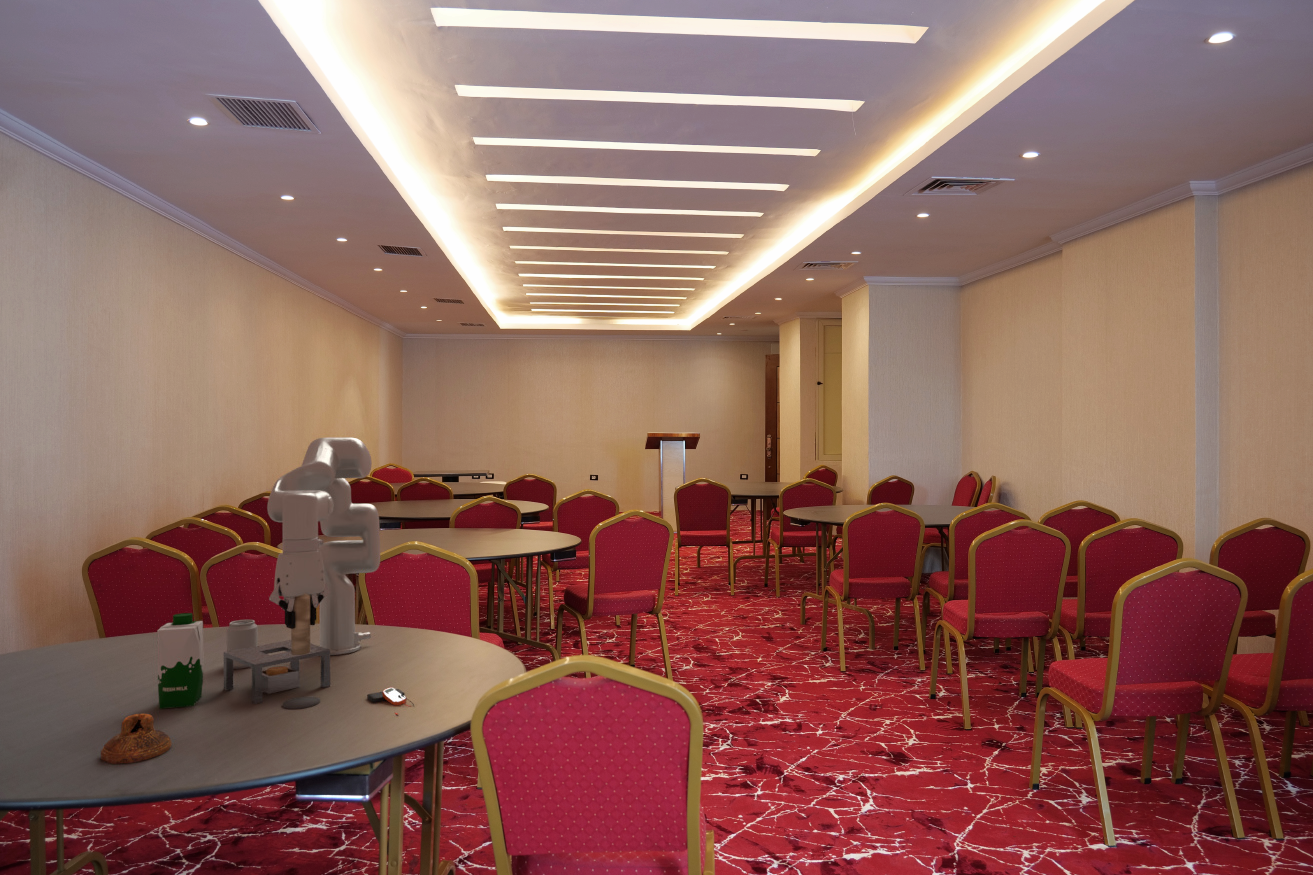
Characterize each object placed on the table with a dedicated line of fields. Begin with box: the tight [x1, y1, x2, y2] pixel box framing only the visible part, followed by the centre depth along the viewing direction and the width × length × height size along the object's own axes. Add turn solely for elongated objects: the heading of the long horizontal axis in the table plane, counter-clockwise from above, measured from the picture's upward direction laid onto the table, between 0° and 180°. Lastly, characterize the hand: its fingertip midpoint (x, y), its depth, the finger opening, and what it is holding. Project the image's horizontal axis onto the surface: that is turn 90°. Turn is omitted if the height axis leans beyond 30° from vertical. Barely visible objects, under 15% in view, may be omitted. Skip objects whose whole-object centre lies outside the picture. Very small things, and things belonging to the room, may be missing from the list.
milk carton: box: [157, 612, 204, 710], centre depth 192 cm, size 9×9×20 cm
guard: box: [223, 639, 331, 705], centre depth 204 cm, size 18×18×9 cm
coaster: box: [281, 696, 321, 710], centre depth 191 cm, size 8×8×1 cm
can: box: [226, 619, 259, 670], centre depth 225 cm, size 8×8×12 cm
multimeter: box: [366, 686, 415, 716], centre depth 191 cm, size 18×12×3 cm, turn 32°
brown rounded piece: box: [100, 713, 173, 765], centre depth 161 cm, size 12×12×7 cm
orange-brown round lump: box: [265, 665, 289, 676], centre depth 204 cm, size 5×5×4 cm
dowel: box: [290, 594, 311, 655], centre depth 191 cm, size 4×4×16 cm
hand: (300, 625), depth 191 cm, fingers closed on dowel, 4 cm apart
